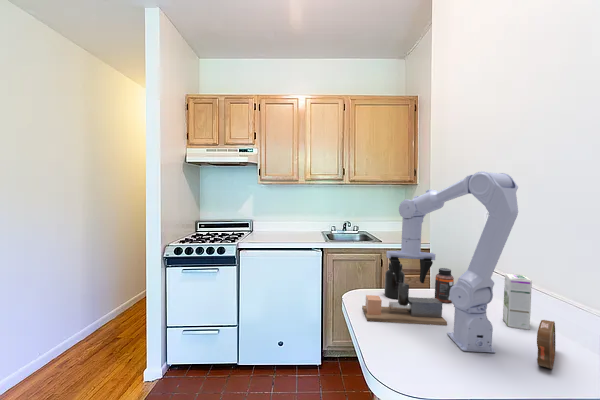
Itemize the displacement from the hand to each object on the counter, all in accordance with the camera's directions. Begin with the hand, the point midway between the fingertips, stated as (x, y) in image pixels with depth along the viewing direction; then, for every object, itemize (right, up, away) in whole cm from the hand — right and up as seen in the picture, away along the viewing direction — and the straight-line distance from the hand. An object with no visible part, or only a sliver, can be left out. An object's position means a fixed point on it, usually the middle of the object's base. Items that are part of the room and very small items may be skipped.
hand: (409, 281), depth 102 cm
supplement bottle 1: (0, -10, +17) cm, 20 cm away
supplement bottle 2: (+17, -11, +14) cm, 25 cm away
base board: (-3, -10, -2) cm, 11 cm away
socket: (-12, -10, -1) cm, 15 cm away
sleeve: (+4, -11, -2) cm, 11 cm away
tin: (+24, -12, -25) cm, 37 cm away
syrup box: (+30, -12, -5) cm, 33 cm away
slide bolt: (0, -8, -2) cm, 9 cm away
